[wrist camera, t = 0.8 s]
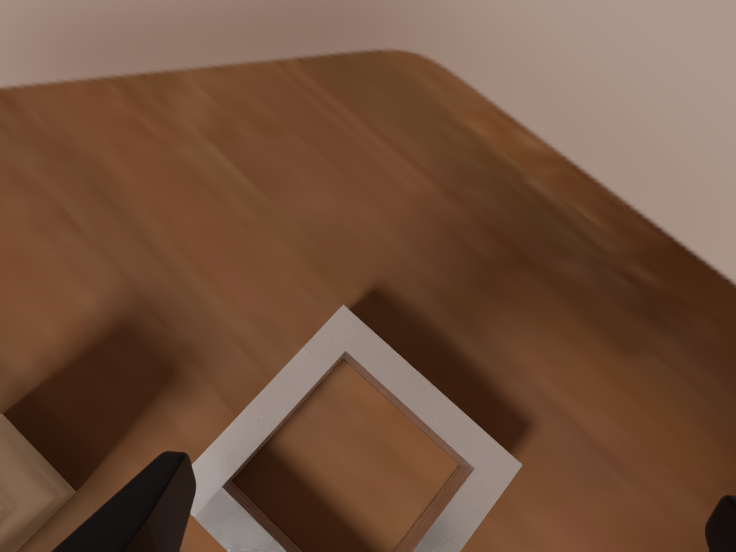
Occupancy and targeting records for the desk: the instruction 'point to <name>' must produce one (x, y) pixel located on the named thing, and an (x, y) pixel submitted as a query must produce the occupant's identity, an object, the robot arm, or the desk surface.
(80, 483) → the desk surface
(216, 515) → the rectangular frame
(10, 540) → the peg
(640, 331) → the desk surface
